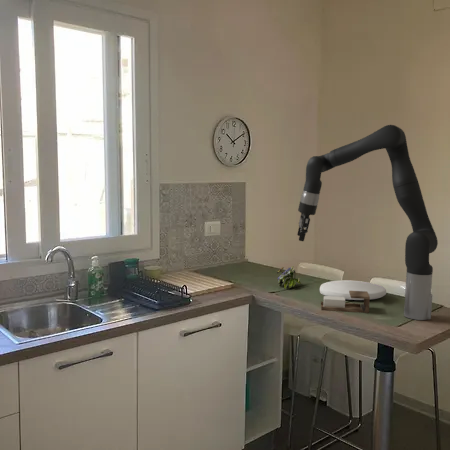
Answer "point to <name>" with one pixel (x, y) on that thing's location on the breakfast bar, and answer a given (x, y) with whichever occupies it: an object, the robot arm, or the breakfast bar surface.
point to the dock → (353, 306)
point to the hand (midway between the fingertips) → (300, 238)
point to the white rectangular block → (334, 301)
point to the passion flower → (288, 274)
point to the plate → (351, 289)
